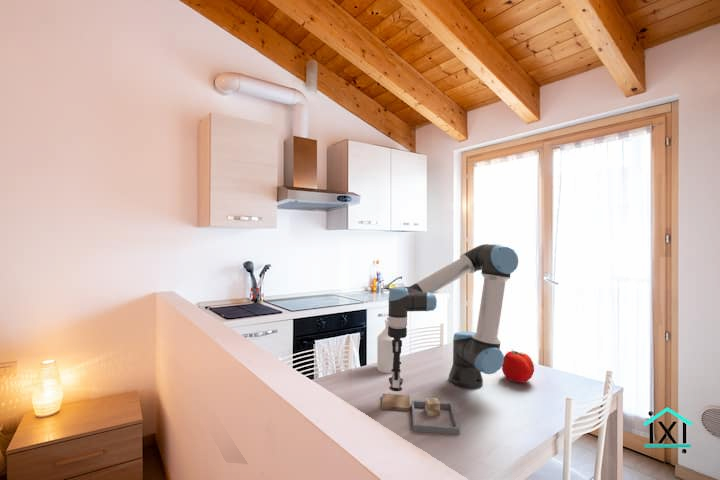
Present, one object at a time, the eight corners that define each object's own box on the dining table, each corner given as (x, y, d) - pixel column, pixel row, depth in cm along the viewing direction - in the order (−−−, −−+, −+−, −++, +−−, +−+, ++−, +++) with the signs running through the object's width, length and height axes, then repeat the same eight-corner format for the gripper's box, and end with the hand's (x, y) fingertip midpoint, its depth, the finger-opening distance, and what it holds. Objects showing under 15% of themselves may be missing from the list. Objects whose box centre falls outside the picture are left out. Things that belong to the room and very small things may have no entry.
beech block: (436, 409, 138) (436, 398, 138) (439, 415, 134) (440, 403, 134) (425, 409, 138) (425, 398, 138) (428, 415, 133) (428, 403, 133)
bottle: (384, 362, 188) (385, 315, 188) (404, 368, 181) (405, 319, 181) (372, 369, 178) (373, 319, 178) (392, 375, 171) (393, 323, 171)
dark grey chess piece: (389, 391, 139) (390, 361, 139) (387, 385, 145) (388, 356, 145) (404, 391, 140) (405, 361, 139) (401, 385, 145) (402, 356, 145)
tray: (451, 408, 139) (451, 403, 139) (459, 434, 121) (459, 428, 121) (411, 405, 141) (411, 400, 141) (413, 430, 123) (413, 425, 122)
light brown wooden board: (409, 398, 147) (409, 395, 147) (410, 411, 136) (410, 408, 136) (382, 396, 148) (382, 393, 148) (381, 409, 138) (381, 406, 137)
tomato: (497, 374, 175) (497, 346, 175) (525, 375, 175) (526, 347, 174) (509, 387, 159) (510, 357, 159) (540, 388, 159) (541, 358, 159)
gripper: (388, 320, 152) (387, 374, 152) (387, 332, 133) (385, 393, 133) (406, 321, 151) (404, 375, 151) (407, 333, 132) (405, 395, 132)
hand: (395, 383), depth 142 cm, fingers closed on dark grey chess piece, 6 cm apart
